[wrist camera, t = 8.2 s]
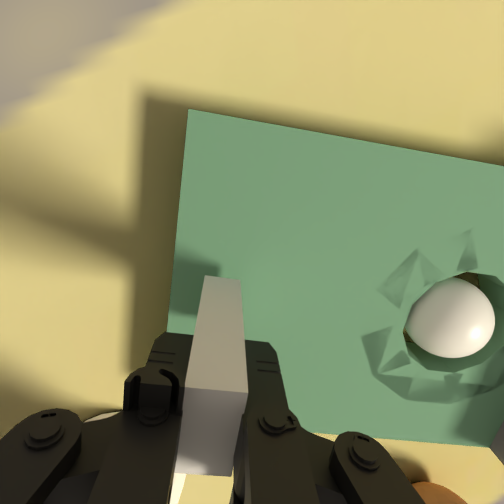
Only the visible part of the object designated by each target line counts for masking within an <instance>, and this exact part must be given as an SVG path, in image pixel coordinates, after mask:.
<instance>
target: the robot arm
mask: <svg viewBox="0 0 504 504" xmlns="http://www.w3.org/2000/svg"><path fill="white" fill-rule="evenodd" d="M233 466H234V484H233V489H232V493H231V498H230V503H229V504H426V503H425V502H424V500H423V499H422V498H421V496H420V495H419V494H418V492H417V491H416V490H415V488H414V487H413V486H412V484H411V483H410V482H409V480H408V479H407V477H406V476H405V475H404V473H403V472H402V471H401V469H400V468H399V467H398V465H397V464H396V463H395V461H394V460H393V459H392V457H391V456H390V454H389V453H388V452H387V451H386V450H385V449H384V447H383V446H382V445H381V444H380V443H379V442H377V441H376V440H374V439H373V438H371V437H370V436H368V435H366V434H363V433H360V432H355V431H347V432H344V433H341V434H339V436H338V437H337V439H336V440H335V442H333V441H331V440H328V439H325V438H323V437H320V436H317V435H315V434H313V433H310V432H308V431H307V430H305V429H304V428H303V427H301V425H300V423H299V421H298V418H297V417H296V416H295V415H294V414H293V412H292V411H291V410H289V407H288V402H287V397H286V393H285V388H284V384H283V379H282V374H281V370H280V365H279V361H278V356H277V352H276V351H275V349H274V348H273V347H272V346H271V344H270V343H269V342H263V341H253V340H245V339H244V325H243V311H242V297H241V283H240V280H237V279H230V278H222V277H214V276H207V275H205V277H204V283H203V288H202V294H201V299H200V304H199V310H198V315H197V321H196V326H195V332H194V335H189V334H180V333H171V332H164V333H163V334H162V335H160V336H159V337H158V338H157V339H156V340H155V342H154V344H153V347H152V350H151V353H150V355H149V358H148V362H147V363H146V366H145V367H142V368H139V369H137V370H136V371H134V372H133V373H131V374H130V375H129V376H128V378H127V379H126V380H125V382H124V400H123V410H122V411H120V412H119V413H117V414H115V415H113V416H110V417H107V418H103V419H100V420H94V421H88V422H83V423H82V422H81V420H80V419H79V417H78V415H77V414H75V413H73V412H71V411H69V410H65V409H50V410H44V411H40V412H38V413H36V414H33V415H31V416H28V417H27V418H26V419H24V420H23V421H21V422H20V423H19V424H17V425H16V426H15V427H14V428H13V429H12V430H10V431H9V432H8V433H7V434H6V435H5V436H4V437H3V438H2V439H1V440H0V504H170V499H171V492H172V485H173V478H174V473H181V474H197V475H213V476H229V477H231V475H232V470H233Z"/></svg>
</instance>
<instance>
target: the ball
mask: <svg viewBox="0 0 504 504" xmlns="http://www.w3.org/2000/svg"><path fill="white" fill-rule="evenodd" d="M494 326H495V315H494V311H493V308H492V305H491V303H490V301H489V300H488V298H487V297H486V296H485V294H484V293H483V292H482V291H481V290H480V289H478V288H477V287H476V286H474V285H473V284H471V283H469V282H467V281H465V280H462V279H460V278H455V277H450V278H447V279H445V280H442V281H439V282H436V283H435V284H434V285H433V286H432V287H431V288H429V289H428V290H427V291H426V292H425V293H424V294H423V295H422V296H421V297H420V298H419V299H418V300H417V301H416V302H415V303H414V304H413V305H412V307H411V309H410V312H409V315H408V318H407V321H406V323H405V326H404V327H405V329H406V331H407V333H408V335H409V336H410V337H411V339H412V340H413V341H414V342H415V343H416V344H417V345H418V346H419V347H421V348H422V349H424V350H425V351H427V352H429V353H431V354H434V355H437V356H441V357H446V358H460V357H465V356H469V355H471V354H474V353H475V352H477V351H479V350H480V349H481V348H483V347H484V346H485V345H486V344H487V342H488V341H489V340H490V338H491V336H492V334H493V331H494Z"/></svg>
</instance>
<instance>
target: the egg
mask: <svg viewBox="0 0 504 504" xmlns="http://www.w3.org/2000/svg"><path fill="white" fill-rule="evenodd" d="M412 486H413V487H414V488H415V490H416V491H417V492H418V494H419V495H420V496H421V498H422V499H423V500H424V502H425V503H426V504H467V503H466V502H465V501H464V500H463V499H462V498H461V497H459V496H458V495H457V494H455V493H454V492H452V491H451V490H449V489H447V488H445V487H443V486H441V485H438V484H434V483H430V482H423V481H422V482H417V483H413V484H412Z"/></svg>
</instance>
